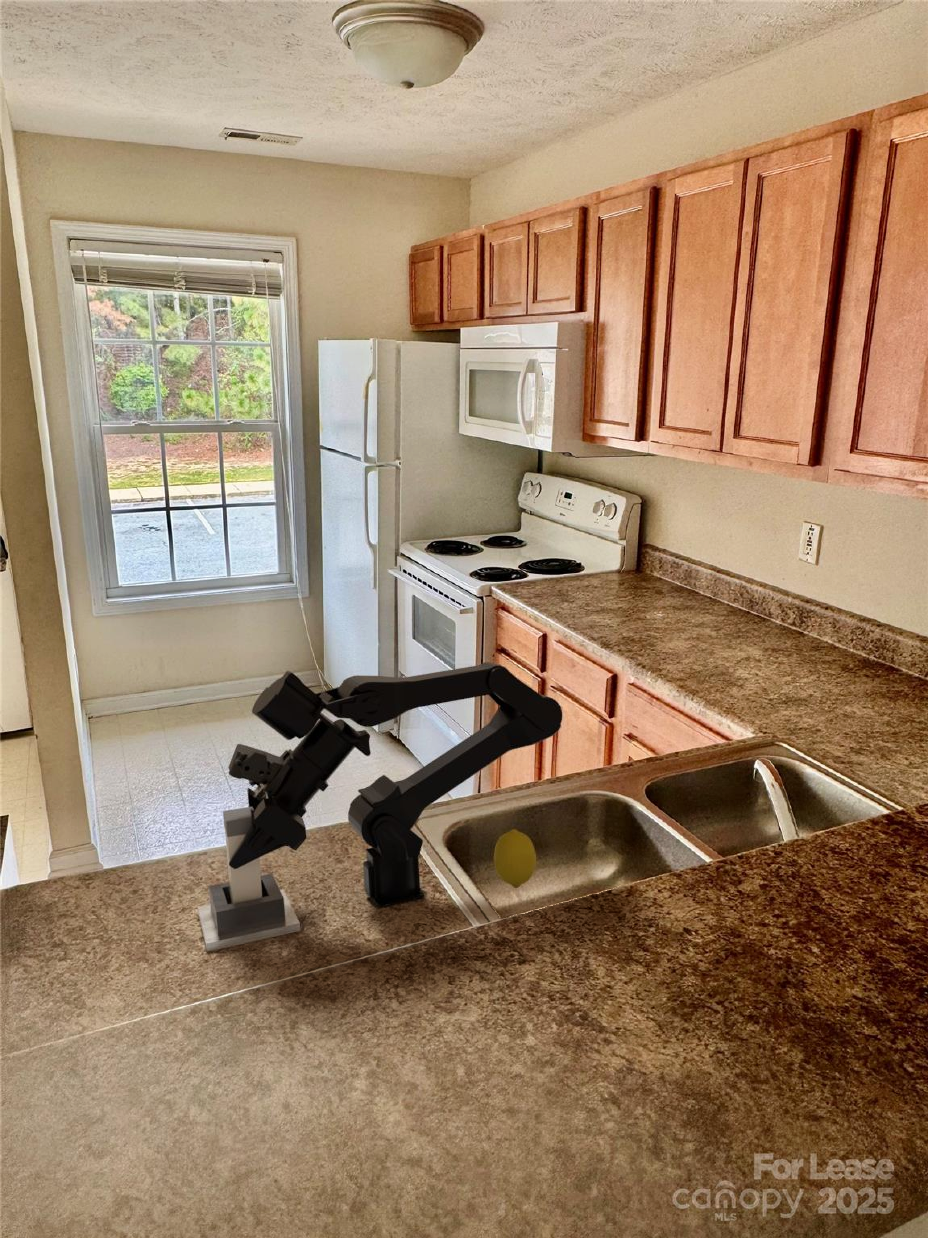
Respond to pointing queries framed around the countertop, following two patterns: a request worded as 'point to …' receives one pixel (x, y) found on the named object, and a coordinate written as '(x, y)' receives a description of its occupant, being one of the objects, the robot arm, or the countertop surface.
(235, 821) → the plug block
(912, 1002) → the countertop surface
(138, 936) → the countertop surface
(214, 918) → the socket plate
